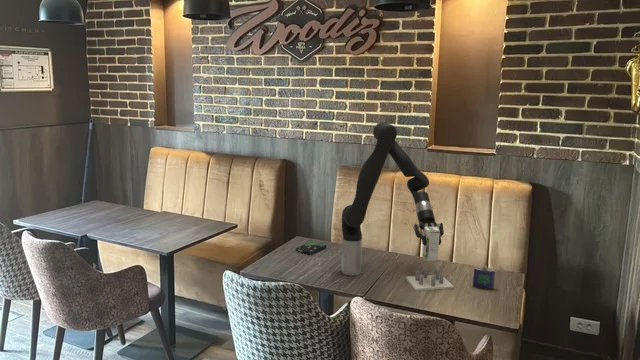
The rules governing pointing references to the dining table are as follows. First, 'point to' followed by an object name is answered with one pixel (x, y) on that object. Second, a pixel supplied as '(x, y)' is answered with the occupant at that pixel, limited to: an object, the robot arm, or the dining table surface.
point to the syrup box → (431, 244)
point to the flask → (484, 278)
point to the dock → (429, 281)
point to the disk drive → (311, 248)
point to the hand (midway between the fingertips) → (432, 244)
